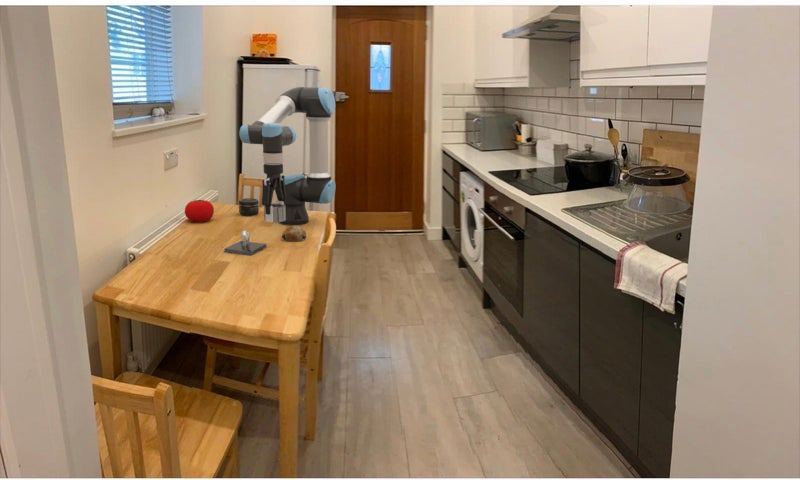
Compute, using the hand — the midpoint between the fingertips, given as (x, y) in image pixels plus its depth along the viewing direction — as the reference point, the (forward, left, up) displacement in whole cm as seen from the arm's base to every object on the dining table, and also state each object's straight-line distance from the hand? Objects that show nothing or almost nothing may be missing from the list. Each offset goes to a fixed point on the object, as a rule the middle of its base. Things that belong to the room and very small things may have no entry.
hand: (275, 219), depth 220 cm
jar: (-51, -44, -13) cm, 68 cm away
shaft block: (+4, -12, -13) cm, 18 cm away
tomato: (-30, -58, -13) cm, 66 cm away
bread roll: (-18, -1, -14) cm, 23 cm away
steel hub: (0, 0, 0) cm, 0 cm away
